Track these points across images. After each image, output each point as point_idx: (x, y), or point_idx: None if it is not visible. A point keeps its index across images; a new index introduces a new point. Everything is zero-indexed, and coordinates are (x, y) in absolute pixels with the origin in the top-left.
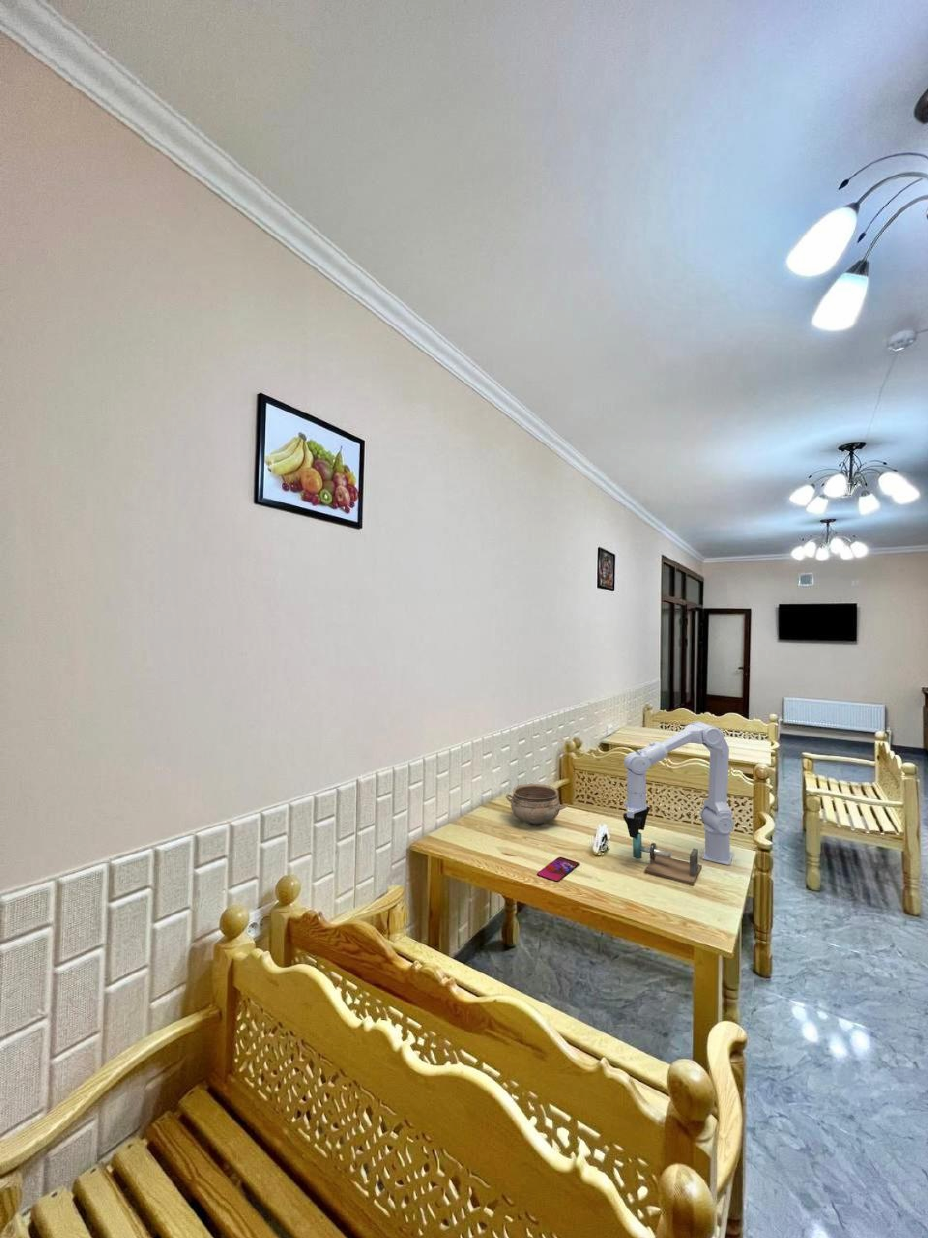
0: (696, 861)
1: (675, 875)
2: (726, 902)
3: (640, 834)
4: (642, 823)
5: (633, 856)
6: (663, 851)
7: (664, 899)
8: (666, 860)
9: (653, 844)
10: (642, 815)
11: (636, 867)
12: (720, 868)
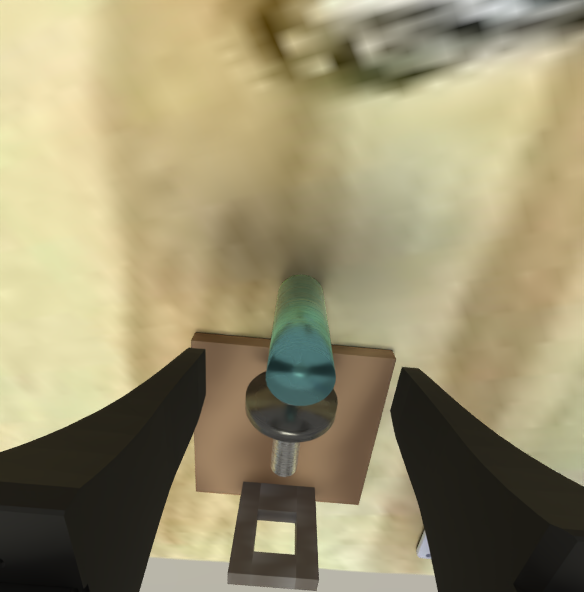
0: (295, 534)
1: (216, 444)
2: (156, 544)
3: (295, 402)
4: (411, 451)
5: (288, 279)
6: (284, 453)
7: (38, 417)
8: (341, 406)
9: (279, 438)
10: (445, 537)
11: (234, 291)
12: (384, 532)
